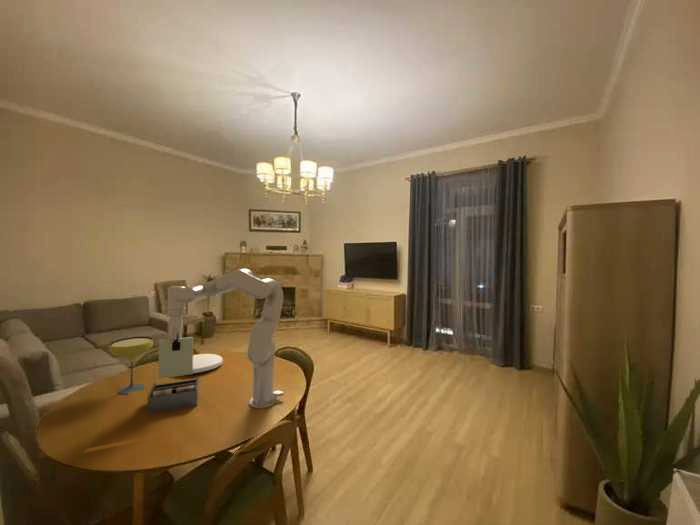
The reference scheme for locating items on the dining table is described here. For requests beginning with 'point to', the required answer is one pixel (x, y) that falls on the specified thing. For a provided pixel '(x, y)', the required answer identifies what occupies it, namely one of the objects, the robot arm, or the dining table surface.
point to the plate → (206, 362)
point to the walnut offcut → (185, 389)
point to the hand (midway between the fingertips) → (176, 349)
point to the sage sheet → (175, 358)
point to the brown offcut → (162, 392)
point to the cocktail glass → (131, 355)
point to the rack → (173, 397)
